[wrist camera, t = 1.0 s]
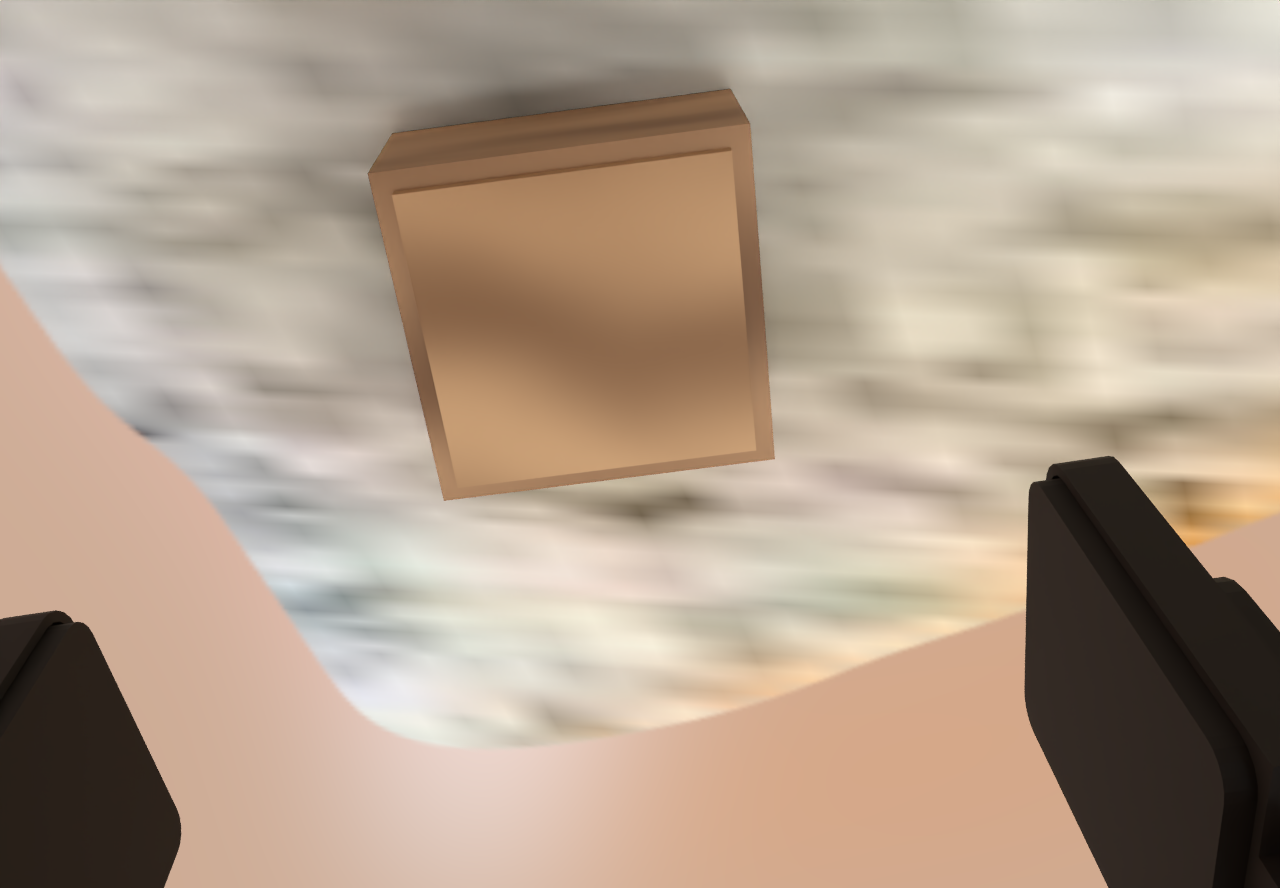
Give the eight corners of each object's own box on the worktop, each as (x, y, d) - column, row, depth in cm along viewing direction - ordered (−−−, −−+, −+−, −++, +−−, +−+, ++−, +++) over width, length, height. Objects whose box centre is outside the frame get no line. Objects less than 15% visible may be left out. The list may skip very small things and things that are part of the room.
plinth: (392, 133, 31) (365, 176, 27) (730, 88, 31) (752, 126, 27) (457, 432, 35) (442, 506, 31) (755, 394, 35) (776, 464, 31)
